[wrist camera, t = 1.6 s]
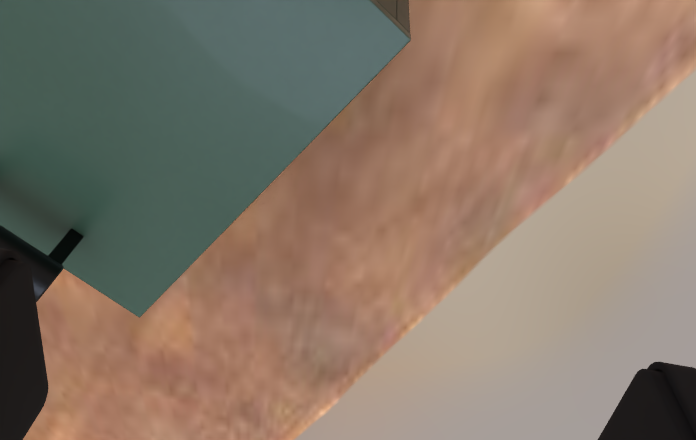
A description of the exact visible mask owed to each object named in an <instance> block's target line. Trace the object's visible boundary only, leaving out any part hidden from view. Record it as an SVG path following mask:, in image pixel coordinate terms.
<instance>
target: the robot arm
mask: <svg viewBox="0 0 696 440" xmlns="http://www.w3.org/2000/svg"><path fill="white" fill-rule="evenodd" d="M47 393H48V380H47V373H46V367H45V360H44V353H43V346H42V340H41V333H40V326H39V319H38V313H37V306H36V299H35V292H34V286H33V279H32V272H31V268H30V265H29V264H28V263H26V262H22V261H21V257H20V255H19V254H18V253H17V252H16V251H14V250H9V249H3V248H0V440H23V438H24V436H25V435H26V433H27V432H28V430H29V429H30V427H31V425H32V424H33V422H34V421H35V419H36V417H37V416H38V414H39V413H40V411H41V409H42V408H43V406H44V403H45V401H46V397H47ZM598 440H696V369H695V368H692V367H686V366H680V365H674V364H669V363H663V362H654V363H653V364H651V365H650V366H649V367H648V369H641V370H639V371H638V372H637V374H636V375H635V377H634V378H633V380H632V382H631V384H630V385H629V387H628V389H627V390H626V392H625V394H624V395H623V397H622V399H621V401H620V402H619V404H618V406H617V407H616V409H615V411H614V413H613V415H612V416H611V418H610V420H609V421H608V423H607V425H606V426H605V428H604V430H603V432H602V433H601V435H600V437H599V438H598Z"/></svg>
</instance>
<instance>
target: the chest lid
mask: <svg viewBox="0 0 696 440" xmlns="http://www.w3.org/2000/svg"><path fill="white" fill-rule="evenodd" d="M410 40H411V35H410V33H409V32H408V31H407V30H406V29H405V28H404V27H403V26H402V25H401V24H400V23H399V22H398V21H397V20H396V19H395V18H394V17H392V16H391V15H390V14H389V13H388V12H387V11H386V10H385V9H384V8H383V7H382V6H381V5H380V4H379V3H378V2H377V1H376V0H0V248H3V249H9V250H14V251H16V252H17V253H18V254H19V255H20V257H21V261H22V262H26V263H28V264H29V265H30V268H31V272H32V279H33V286H34V292H35V299H36V302H37V301H38V300H39V299H40V297H41V296H42V295H43V294H44V292H45V291H46V290H47V289H48V287H49V286H50V285H51V284H52V282H53V281H54V280H55V279H56V277H57V276H58V275H59V274H60V272H61V271H62V270H63V268H64V269H66V270H67V271H69V272H70V273H72V274H73V275H75V276H76V277H78V278H79V279H81V280H82V281H84V282H86V283H87V284H89V285H90V286H92V287H93V288H95V289H96V290H98V291H99V292H101V293H103V294H104V295H106V296H107V297H109V298H110V299H112V300H113V301H115V302H116V303H118V304H119V305H121V306H123V307H124V308H126V309H127V310H129V311H130V312H132V313H133V314H135V315H136V316H138V317H141V316H142V315H143V314H144V313H145V312H146V310H147V309H148V308H149V307H150V306H151V305H152V304H153V303H154V302H155V301H156V300H157V299H158V298H159V297H160V296H161V295H162V294H163V293H164V292H165V291H166V290H167V289H168V288H169V287H170V286H171V285H172V284H173V283H174V282H175V281H176V280H177V279H178V278H179V277H180V276H181V275H182V274H183V273H184V272H185V271H186V270H187V269H188V268H189V266H190V265H191V264H192V263H193V262H194V261H195V260H196V259H197V258H198V257H199V256H200V255H201V254H202V253H203V252H204V251H205V250H206V249H207V248H208V247H209V246H210V245H211V244H212V243H213V242H214V241H215V240H216V239H217V238H218V237H219V236H220V235H221V234H222V233H223V232H224V231H225V230H226V229H227V228H228V227H229V226H230V225H231V224H232V222H233V221H234V220H235V219H236V218H237V217H238V216H239V215H240V214H241V213H242V212H243V211H244V210H245V209H246V208H247V207H248V206H249V205H250V204H251V203H252V202H253V201H254V200H255V199H256V198H257V197H258V196H259V195H260V194H261V193H262V192H263V191H264V190H265V189H266V188H267V187H268V186H269V185H270V184H271V183H272V182H273V181H274V180H275V178H276V177H277V176H278V175H279V174H280V173H281V172H282V171H283V170H284V169H285V168H286V167H287V166H288V165H289V164H290V163H291V162H292V161H293V160H294V159H295V158H296V157H297V156H298V155H299V154H300V153H301V152H302V151H303V150H304V149H305V148H306V147H307V146H308V145H309V144H310V143H311V142H312V141H313V140H314V139H315V138H316V137H317V136H318V135H319V133H320V132H321V131H322V130H323V129H324V128H325V127H326V126H327V125H328V124H329V123H330V122H331V121H332V120H333V119H334V118H335V117H336V116H337V115H338V114H339V113H340V112H341V111H342V110H343V109H344V108H345V107H346V106H347V105H348V104H349V103H350V102H351V101H352V100H353V99H354V98H355V97H356V96H357V95H358V94H359V93H360V92H361V91H362V89H363V88H364V87H365V86H366V85H367V84H368V83H369V82H370V81H371V80H372V79H373V78H374V77H375V76H376V75H377V74H378V73H379V72H380V71H381V70H382V69H383V68H384V67H385V66H386V65H387V64H388V63H389V62H390V61H391V60H392V59H393V58H394V57H395V56H396V55H397V54H398V53H399V52H400V51H401V50H402V49H403V48H404V47H405V45H406V44H407V43H408V42H409V41H410Z"/></svg>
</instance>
